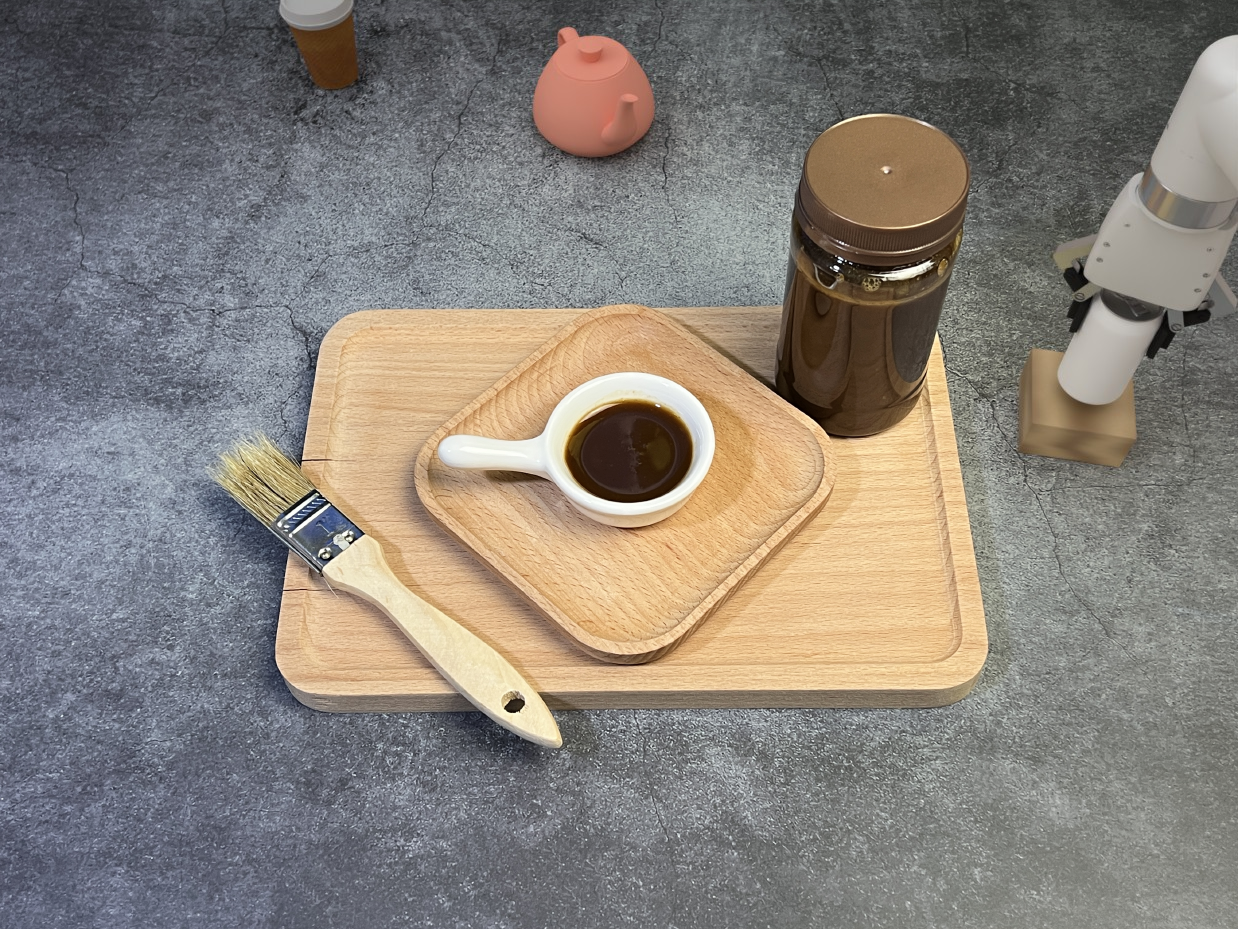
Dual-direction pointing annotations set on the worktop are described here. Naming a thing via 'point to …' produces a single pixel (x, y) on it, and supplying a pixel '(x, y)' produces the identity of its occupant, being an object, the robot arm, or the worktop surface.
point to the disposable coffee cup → (324, 39)
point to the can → (1108, 347)
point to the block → (1071, 417)
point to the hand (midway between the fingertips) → (1113, 334)
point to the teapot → (592, 97)
